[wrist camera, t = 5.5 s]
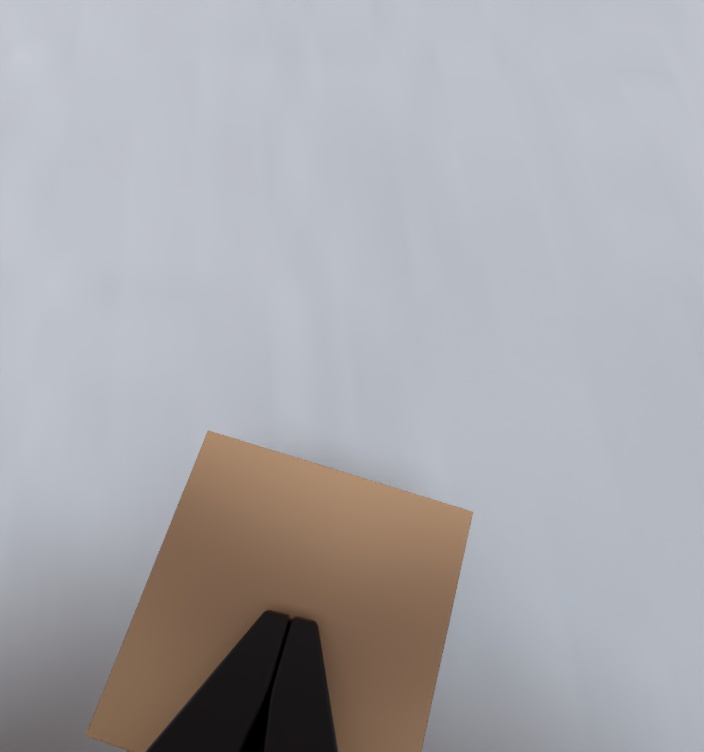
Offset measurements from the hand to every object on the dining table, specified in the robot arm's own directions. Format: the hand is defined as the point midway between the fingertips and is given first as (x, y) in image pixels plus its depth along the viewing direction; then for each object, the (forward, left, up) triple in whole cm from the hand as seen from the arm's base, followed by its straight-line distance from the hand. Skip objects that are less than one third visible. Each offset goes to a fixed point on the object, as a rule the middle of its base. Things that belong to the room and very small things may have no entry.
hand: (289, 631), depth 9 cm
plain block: (0, 0, -8) cm, 8 cm away
